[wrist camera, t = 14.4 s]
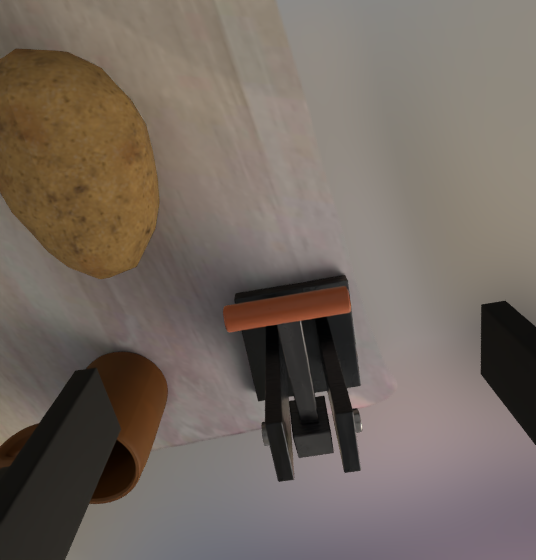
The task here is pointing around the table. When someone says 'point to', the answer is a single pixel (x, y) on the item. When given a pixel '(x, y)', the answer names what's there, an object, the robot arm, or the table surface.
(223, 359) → the table surface
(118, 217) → the potato
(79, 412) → the robot arm
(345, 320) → the bracket
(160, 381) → the mug
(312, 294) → the lever
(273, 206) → the table surface
